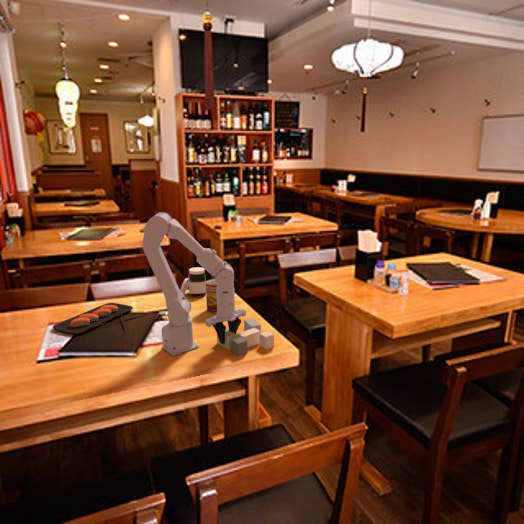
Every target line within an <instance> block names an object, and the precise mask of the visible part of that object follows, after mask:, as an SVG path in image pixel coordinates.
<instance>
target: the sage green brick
mask: <svg viewBox="0 0 524 524" xmlns="http://www.w3.org/2000/svg"><path fill="white" fill-rule="evenodd" d="M236 338H237V333H236V334H235V333H233V332H231V331H229V328H228V329H227V328H226V331H225V344H222V343H220V341H219V338H218V335H217V334H216V341H217V342H216V343H217V344H218V345H220V346H222V348H224V349H226V350H228V351H231V350H232V340H233V339H236Z"/></svg>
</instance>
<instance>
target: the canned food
mask: <svg viewBox="0 0 524 524" xmlns="http://www.w3.org/2000/svg"><path fill="white" fill-rule="evenodd" d="M216 289H217V283H216V281H215V278H211V279H208V280H206V294H205V295H206V311H207V312H208V313H210V314H217V293H216Z"/></svg>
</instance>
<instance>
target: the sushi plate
mask: <svg viewBox="0 0 524 524" xmlns="http://www.w3.org/2000/svg"><path fill="white" fill-rule="evenodd" d="M132 310H133V306H131V305H129V304H128V305H127V304H123V303H117V302H108V303H105V304H104V303H103V304H102V305H99V306H96V307H95V308H91V309H89V310H87V311H84V312H82V313H80V314H77V315H75V316H73V317H70V318H67V319H65V320H63V321H61V322H59V323H56V324H55V325H53V326H52V329H54V330H55V331H59V332H64V333H67V334H72V335H78V334H83V333H85V332H88V331H90V330H92V329H94V328H96V327H99V326H100V325H101V326H104V324H105V325H109V324H115V323H119V322H122V326H123V329H124V334H125V337H126V338H128V335H129V334H128V331H127V329H126V325H125V321H130V320H135V319H139V318H142V317H145V316H149V315H150V314H149V313H148V314H142V315H138V316H137V315H136V316H132V317H128V318H125V319H123V318H121V320H119V319H118V320H116V321H112V320H113V319H115V318H118V317H121V316H122V317H123V314H126V313H128V312H130V311H132ZM122 313H123V314H122ZM106 314H110V315H106ZM119 314H121V315H119ZM98 315H104V316H98ZM116 315H119V316H117V317H115V318H114V316H116ZM112 317H113V319H112ZM97 318H98V319H97ZM110 318H111V319H110ZM94 319H97V320H94ZM122 319H123V321H122ZM90 320H91V321H90ZM103 321H104V323H103ZM105 321H106V322H105ZM109 321H111V322H112V323H111V322H109ZM101 322H102V324H101ZM99 323H100V325H99ZM97 324H98V325H97ZM101 326H100V327H101ZM88 328H89V330H88ZM86 330H87V331H86Z"/></svg>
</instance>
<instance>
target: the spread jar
mask: <svg viewBox="0 0 524 524" xmlns="http://www.w3.org/2000/svg"><path fill="white" fill-rule="evenodd" d="M205 271H206V270H205V269H204V268H203V267H199V266H197V267H191V268H189V269H188V277H186V278H185V279H184V280H183V281H182V284H181V286H180V291H181V292H182V293H183V294H185V293H186V291H187V289H188V293H189V295H190V296H191V297H196V298H197V297H203V296H205V295H206V281H207V277H206V274H205Z"/></svg>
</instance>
